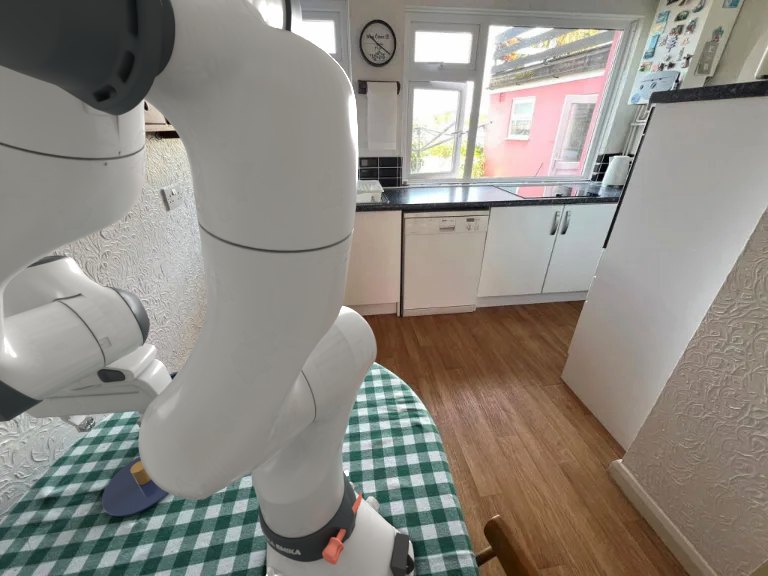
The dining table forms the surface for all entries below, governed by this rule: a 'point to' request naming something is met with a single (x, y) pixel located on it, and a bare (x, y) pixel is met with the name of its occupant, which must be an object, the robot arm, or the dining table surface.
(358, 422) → the dining table surface
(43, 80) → the robot arm
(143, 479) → the tin lid
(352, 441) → the dining table surface
